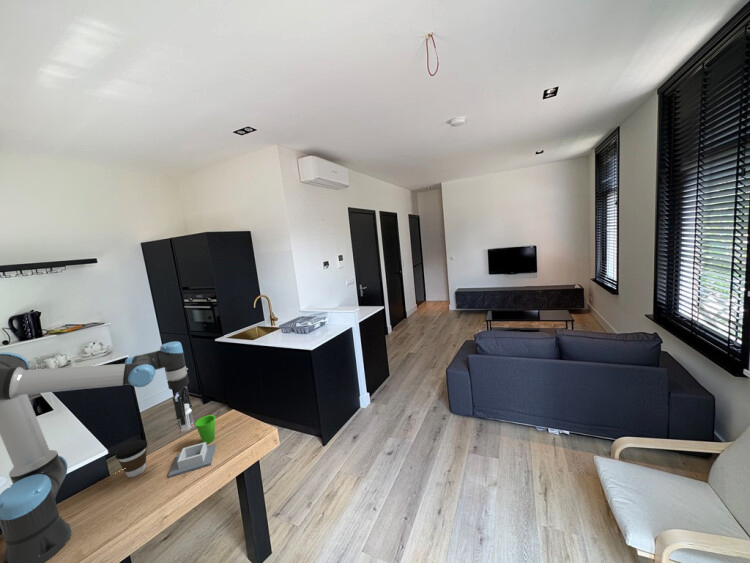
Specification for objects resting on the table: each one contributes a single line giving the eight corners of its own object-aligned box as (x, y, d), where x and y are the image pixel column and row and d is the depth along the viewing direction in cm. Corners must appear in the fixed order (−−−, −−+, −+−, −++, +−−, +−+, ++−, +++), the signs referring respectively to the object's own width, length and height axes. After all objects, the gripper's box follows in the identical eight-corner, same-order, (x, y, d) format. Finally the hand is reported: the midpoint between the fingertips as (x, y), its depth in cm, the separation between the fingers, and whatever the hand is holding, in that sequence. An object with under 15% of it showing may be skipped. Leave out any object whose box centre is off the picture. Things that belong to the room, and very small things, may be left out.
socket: (168, 477, 126) (166, 468, 126) (177, 456, 139) (176, 447, 139) (211, 465, 131) (209, 455, 131) (216, 445, 145) (214, 437, 144)
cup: (195, 443, 148) (191, 422, 146) (213, 432, 155) (209, 413, 154) (204, 449, 143) (200, 428, 141) (222, 438, 150) (219, 417, 148)
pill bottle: (189, 422, 137) (185, 401, 135) (197, 424, 134) (193, 403, 133) (176, 429, 132) (172, 408, 130) (184, 432, 129) (180, 411, 128)
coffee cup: (154, 469, 132) (149, 444, 130) (123, 486, 124) (116, 459, 122) (148, 459, 139) (143, 435, 138) (118, 474, 131) (112, 449, 130)
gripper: (181, 384, 122) (192, 436, 125) (192, 367, 140) (201, 413, 143) (160, 389, 120) (171, 441, 123) (173, 371, 137) (183, 417, 140)
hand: (187, 426), depth 133 cm, fingers closed on pill bottle, 6 cm apart
